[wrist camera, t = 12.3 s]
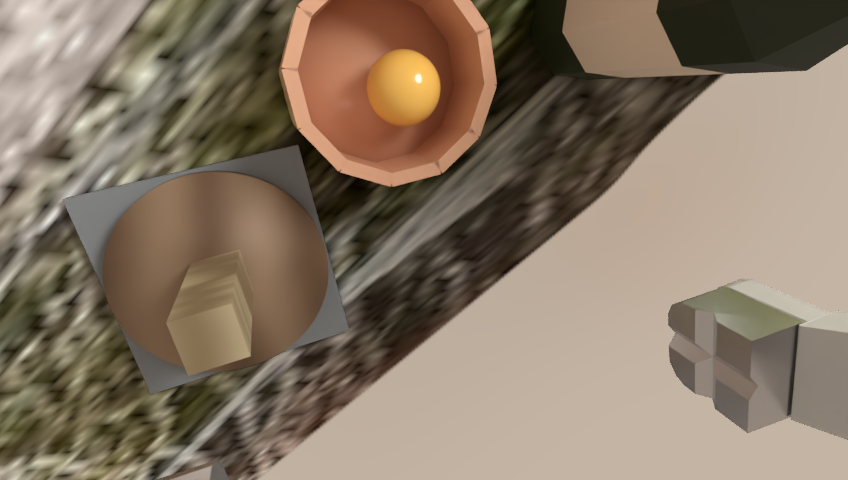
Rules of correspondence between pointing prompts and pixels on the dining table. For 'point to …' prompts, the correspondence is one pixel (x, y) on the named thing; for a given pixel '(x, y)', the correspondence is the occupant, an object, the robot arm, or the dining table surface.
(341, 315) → the mat
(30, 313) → the dining table surface
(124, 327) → the lid
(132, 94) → the dining table surface
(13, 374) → the dining table surface
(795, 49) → the wine bottle
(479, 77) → the bowl
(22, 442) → the dining table surface
